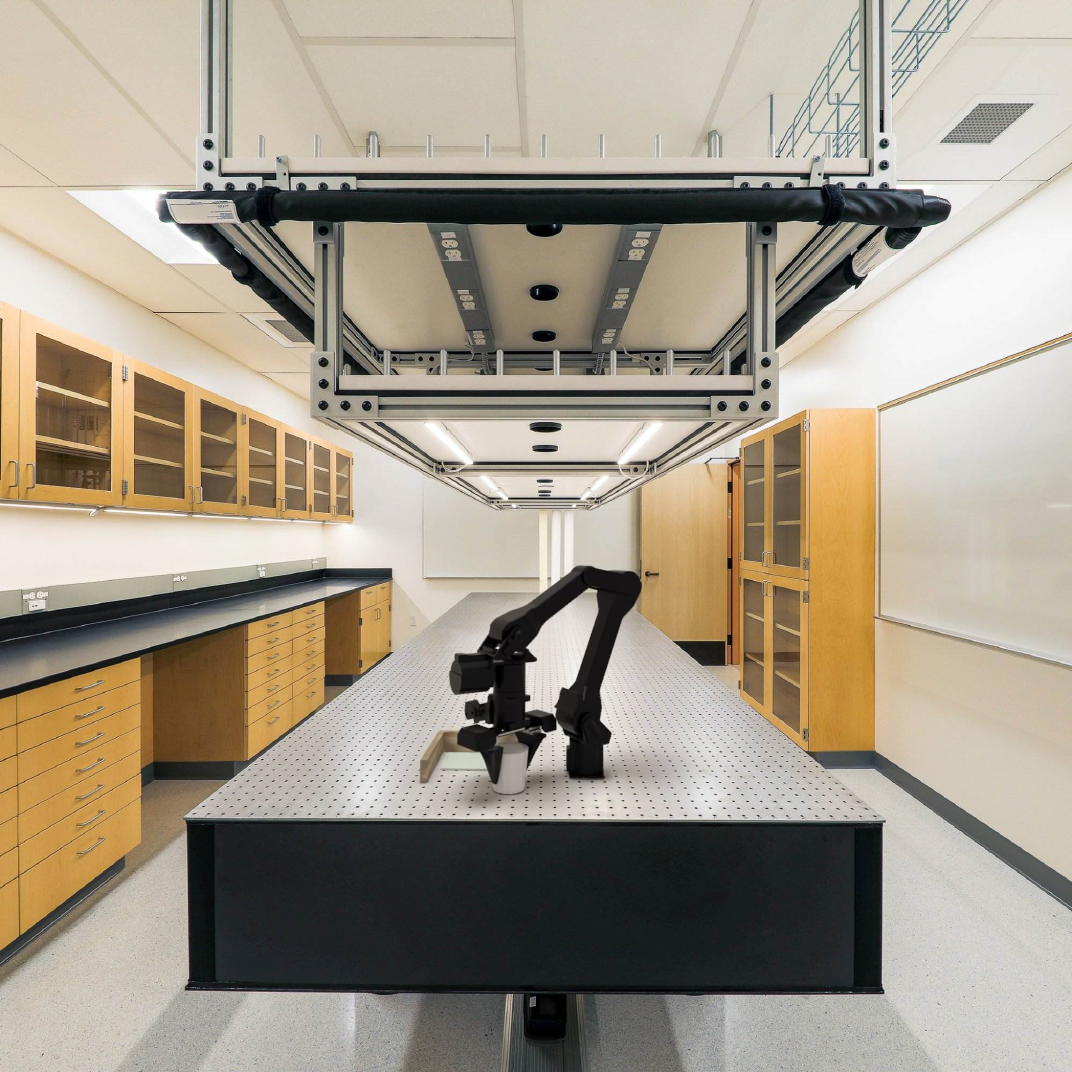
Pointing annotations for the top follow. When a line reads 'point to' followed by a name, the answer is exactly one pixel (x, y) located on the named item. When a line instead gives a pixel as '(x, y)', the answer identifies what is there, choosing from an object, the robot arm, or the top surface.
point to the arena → (446, 750)
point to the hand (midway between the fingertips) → (508, 778)
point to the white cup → (512, 768)
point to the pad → (464, 762)
